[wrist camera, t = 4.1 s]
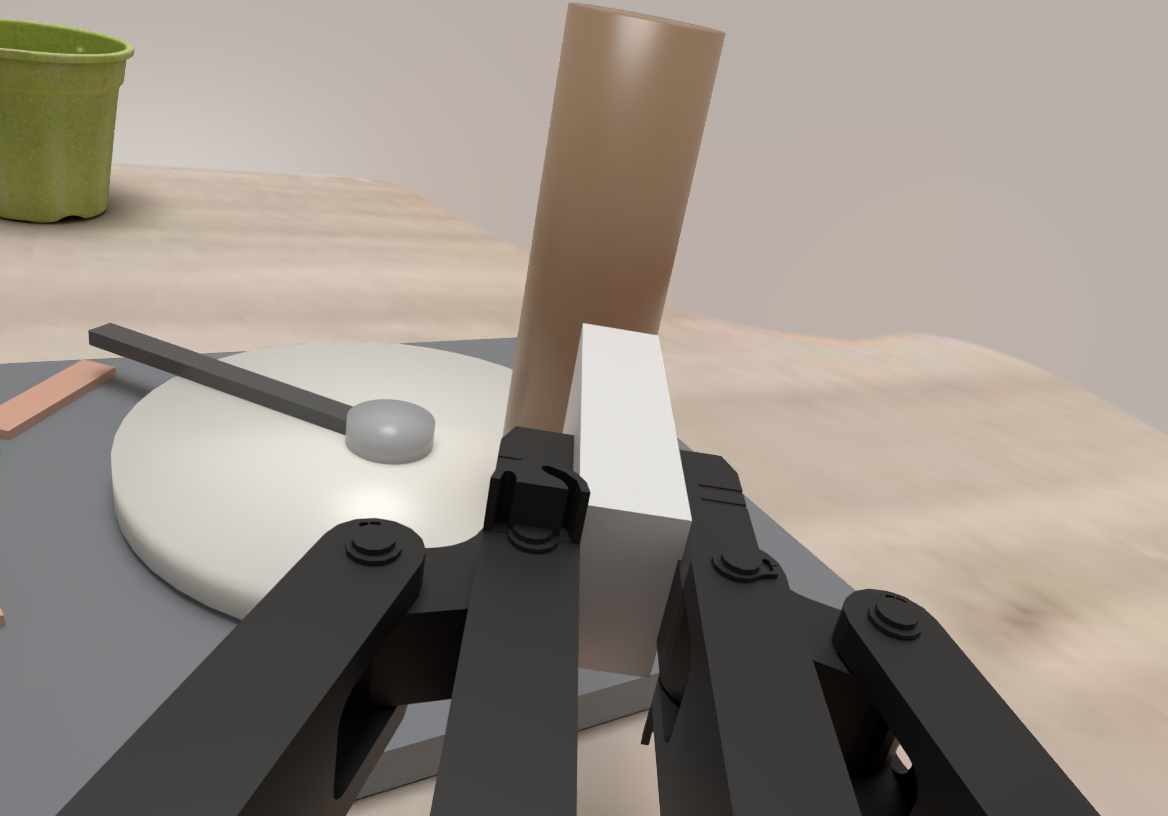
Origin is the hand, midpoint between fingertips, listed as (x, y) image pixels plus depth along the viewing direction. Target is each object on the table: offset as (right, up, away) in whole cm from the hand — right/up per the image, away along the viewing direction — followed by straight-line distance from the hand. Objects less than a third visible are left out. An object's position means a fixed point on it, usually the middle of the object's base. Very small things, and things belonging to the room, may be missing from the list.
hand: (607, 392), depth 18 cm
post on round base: (-7, -2, +10) cm, 13 cm away
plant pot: (-29, +10, +30) cm, 43 cm away
